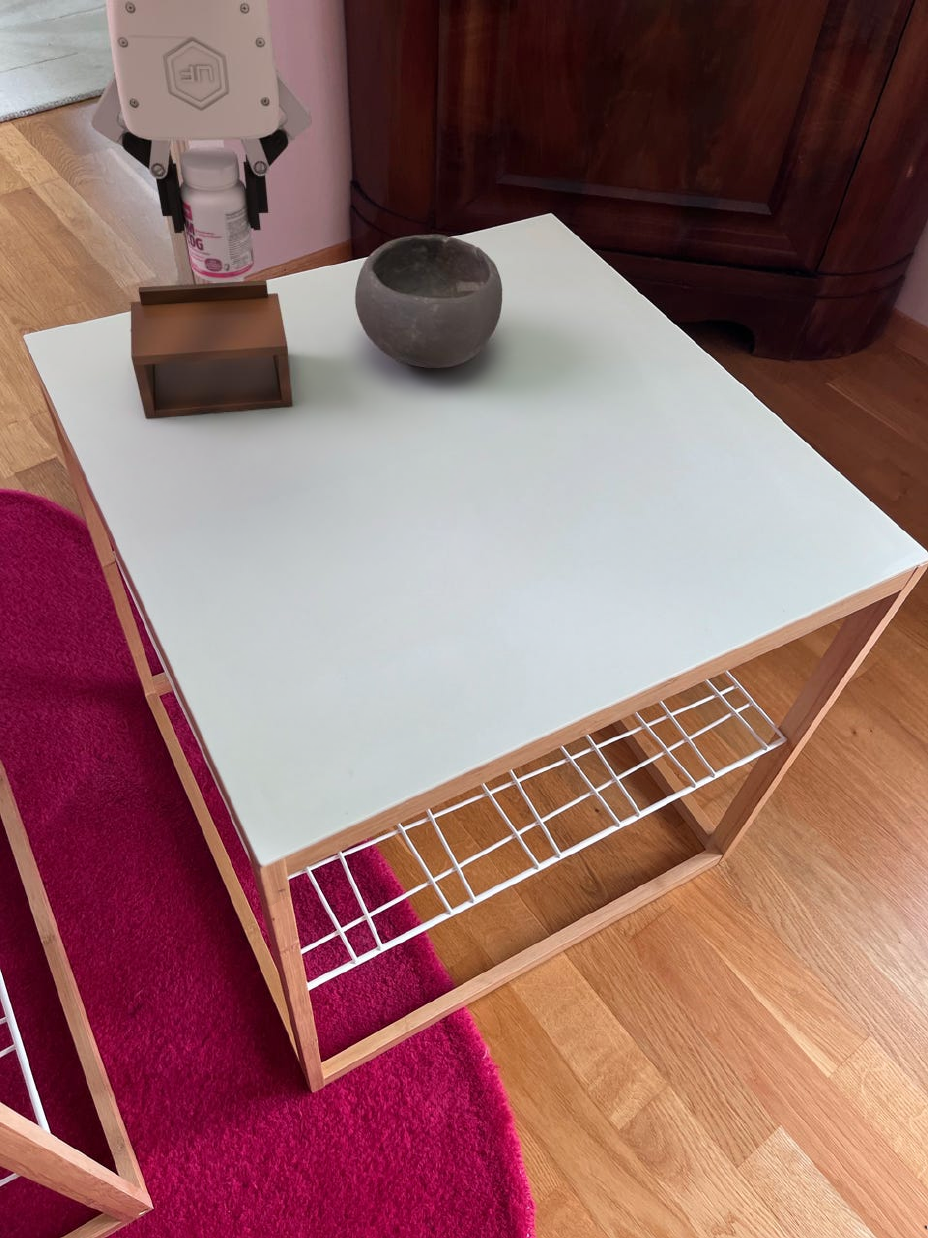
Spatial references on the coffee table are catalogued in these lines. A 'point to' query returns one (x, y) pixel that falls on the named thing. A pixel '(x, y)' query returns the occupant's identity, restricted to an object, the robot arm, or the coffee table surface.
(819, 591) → the coffee table surface
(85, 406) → the coffee table surface
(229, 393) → the shelf
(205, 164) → the pill bottle
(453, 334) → the bowl
